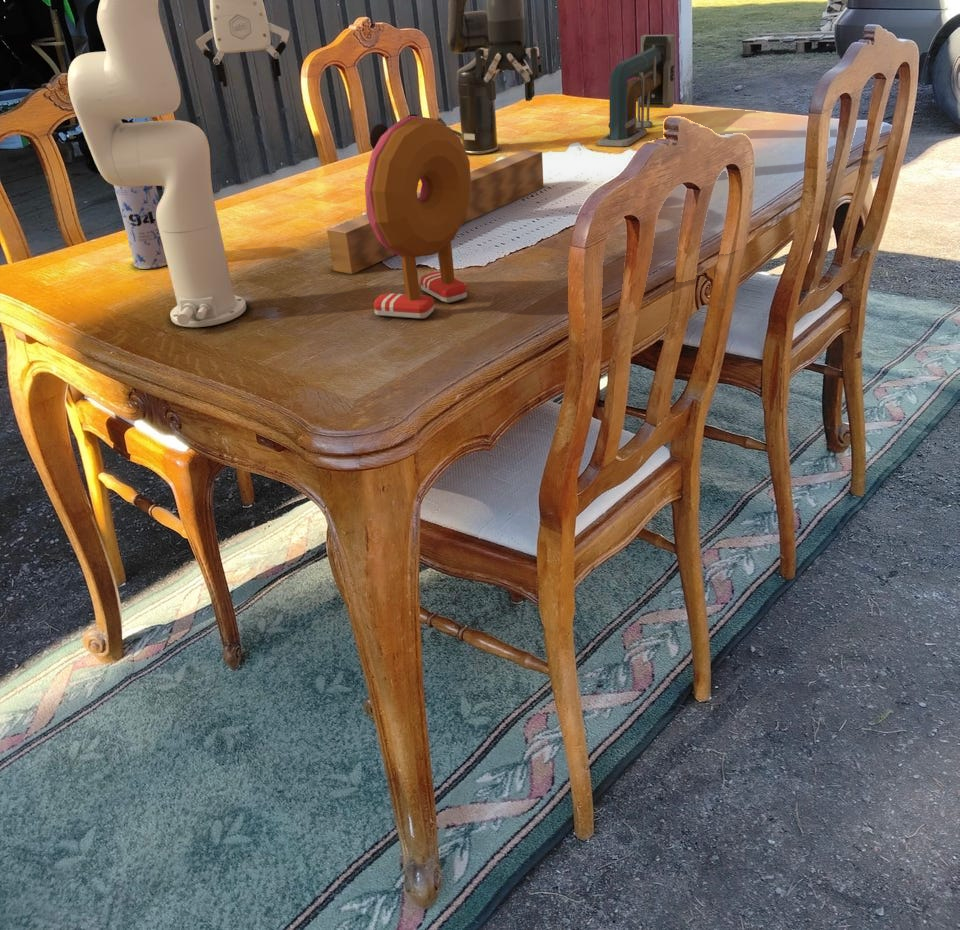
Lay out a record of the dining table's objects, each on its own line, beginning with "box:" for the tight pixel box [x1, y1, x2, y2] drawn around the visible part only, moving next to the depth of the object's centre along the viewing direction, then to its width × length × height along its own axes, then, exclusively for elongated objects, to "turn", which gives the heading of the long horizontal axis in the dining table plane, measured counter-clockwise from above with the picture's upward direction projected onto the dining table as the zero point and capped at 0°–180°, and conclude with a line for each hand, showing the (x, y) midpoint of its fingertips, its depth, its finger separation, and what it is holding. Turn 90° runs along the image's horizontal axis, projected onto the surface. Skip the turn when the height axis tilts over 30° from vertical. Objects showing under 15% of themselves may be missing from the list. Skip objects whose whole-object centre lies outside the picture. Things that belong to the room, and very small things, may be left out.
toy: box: [364, 113, 472, 319], centre depth 153 cm, size 21×10×30 cm, turn 141°
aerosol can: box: [113, 185, 168, 270], centre depth 186 cm, size 8×8×20 cm
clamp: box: [596, 34, 676, 147], centre depth 254 cm, size 35×9×21 cm, turn 151°
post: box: [326, 149, 544, 275], centre depth 197 cm, size 63×5×8 cm, turn 143°
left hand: (251, 83), depth 185 cm, fingers open, 9 cm apart
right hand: (510, 100), depth 205 cm, fingers open, 8 cm apart
